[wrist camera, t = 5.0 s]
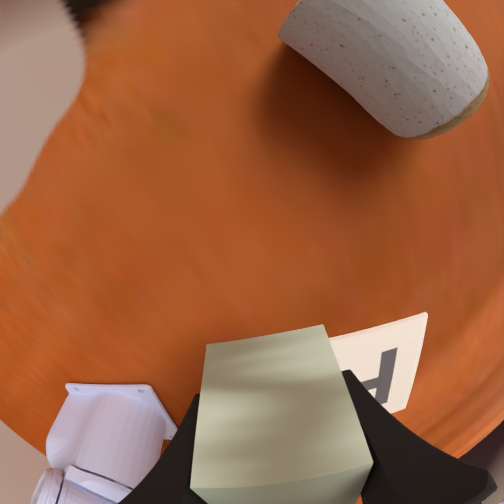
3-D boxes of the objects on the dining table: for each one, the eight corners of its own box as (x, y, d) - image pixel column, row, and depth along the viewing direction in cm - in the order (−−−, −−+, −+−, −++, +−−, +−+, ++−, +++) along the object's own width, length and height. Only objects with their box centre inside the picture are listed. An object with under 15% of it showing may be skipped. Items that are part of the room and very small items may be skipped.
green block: (232, 411, 12) (232, 522, 7) (206, 344, 11) (190, 487, 5) (325, 395, 12) (355, 505, 7) (322, 324, 11) (373, 462, 5)
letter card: (289, 435, 24) (289, 439, 23) (272, 349, 19) (273, 353, 19) (404, 405, 23) (405, 408, 23) (425, 311, 19) (428, 314, 19)
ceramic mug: (379, 149, 15) (470, 160, 8) (266, 54, 13) (290, -16, 6) (452, 49, 12) (530, 30, 5) (363, -34, 10) (416, -91, 3)
